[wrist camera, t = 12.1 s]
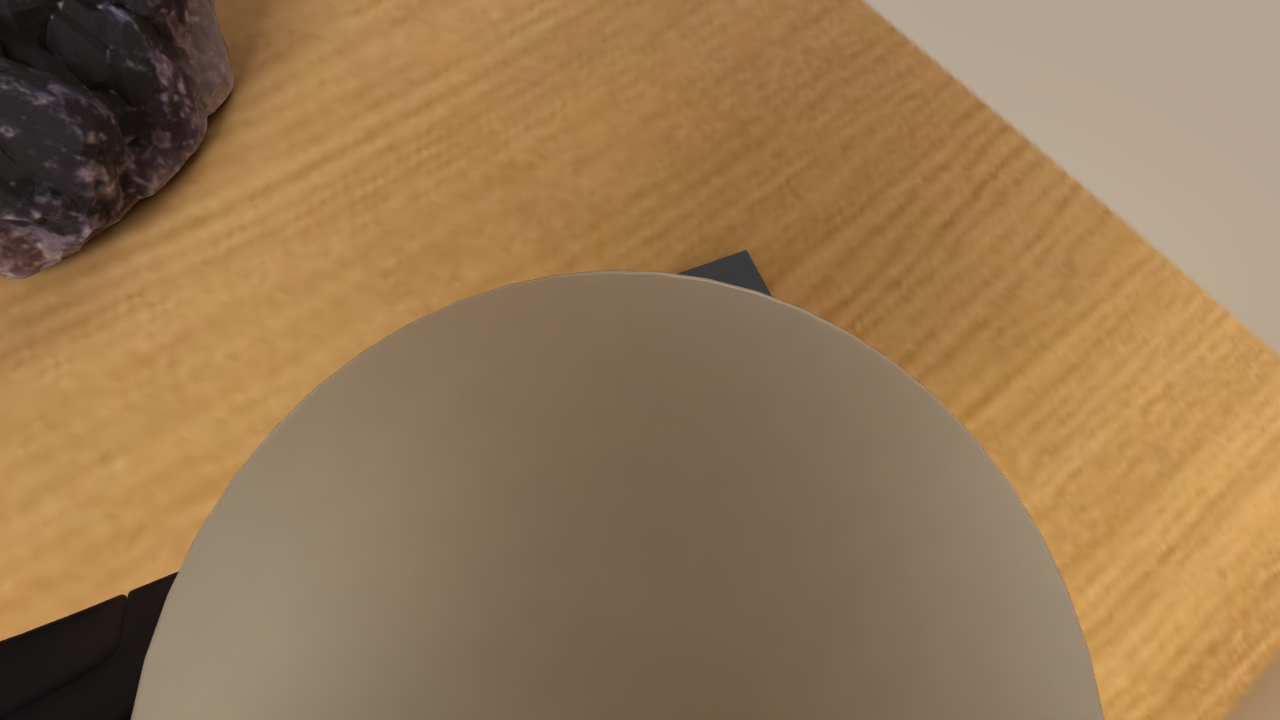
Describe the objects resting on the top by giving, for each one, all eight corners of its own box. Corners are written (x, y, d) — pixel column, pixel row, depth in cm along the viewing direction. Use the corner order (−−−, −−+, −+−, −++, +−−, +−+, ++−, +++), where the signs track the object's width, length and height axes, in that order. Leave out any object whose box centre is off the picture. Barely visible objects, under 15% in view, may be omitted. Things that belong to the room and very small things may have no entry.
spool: (620, 993, 11) (709, 1833, 3) (352, 709, 12) (-105, 749, 4) (843, 670, 13) (1271, 640, 5) (592, 452, 14) (598, 137, 6)
